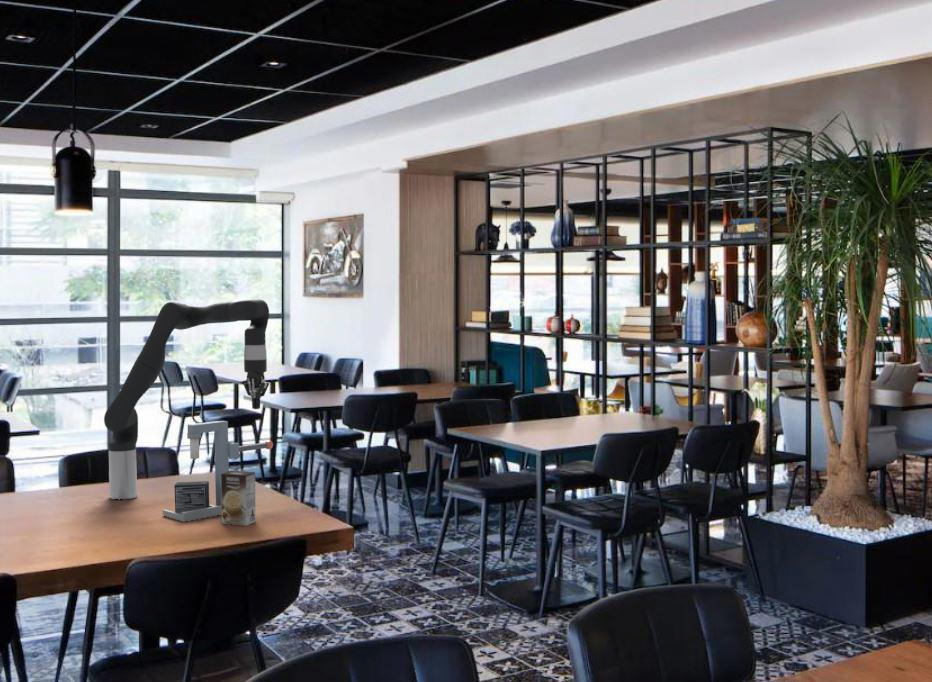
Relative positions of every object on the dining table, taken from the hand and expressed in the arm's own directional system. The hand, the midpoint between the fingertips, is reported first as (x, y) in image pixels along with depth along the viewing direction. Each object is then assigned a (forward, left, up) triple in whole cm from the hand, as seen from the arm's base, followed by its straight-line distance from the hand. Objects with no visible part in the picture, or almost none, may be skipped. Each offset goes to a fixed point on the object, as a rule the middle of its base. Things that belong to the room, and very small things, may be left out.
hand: (256, 408), depth 348 cm
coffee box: (+19, -20, -33) cm, 43 cm away
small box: (-3, -23, -33) cm, 41 cm away
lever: (0, -3, -14) cm, 15 cm away
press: (-1, -20, -33) cm, 39 cm away
